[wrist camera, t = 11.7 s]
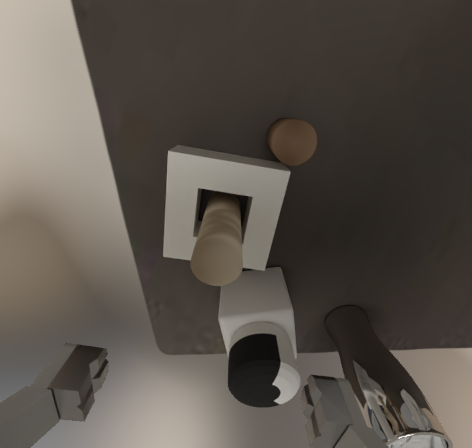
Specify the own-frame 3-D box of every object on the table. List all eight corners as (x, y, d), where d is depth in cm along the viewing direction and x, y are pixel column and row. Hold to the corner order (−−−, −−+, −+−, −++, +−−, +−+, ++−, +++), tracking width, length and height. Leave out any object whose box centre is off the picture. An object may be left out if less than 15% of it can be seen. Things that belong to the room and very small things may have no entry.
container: (231, 316, 35) (228, 421, 23) (221, 272, 32) (212, 369, 20) (285, 310, 34) (311, 414, 23) (280, 265, 31) (308, 359, 19)
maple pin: (242, 191, 27) (247, 246, 16) (237, 220, 28) (238, 288, 18) (210, 185, 27) (192, 238, 16) (206, 215, 28) (188, 282, 17)
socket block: (282, 163, 26) (290, 171, 22) (261, 251, 30) (264, 270, 27) (178, 144, 25) (168, 150, 21) (172, 238, 29) (163, 256, 26)
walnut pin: (306, 121, 24) (322, 124, 19) (296, 158, 25) (309, 168, 21) (270, 114, 24) (278, 116, 19) (262, 152, 25) (268, 161, 21)
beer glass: (365, 296, 33) (453, 424, 20) (374, 330, 36) (457, 463, 22) (315, 311, 34) (367, 442, 21) (327, 343, 37) (380, 477, 24)
